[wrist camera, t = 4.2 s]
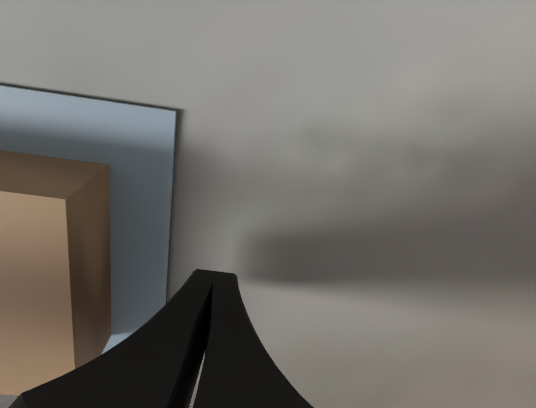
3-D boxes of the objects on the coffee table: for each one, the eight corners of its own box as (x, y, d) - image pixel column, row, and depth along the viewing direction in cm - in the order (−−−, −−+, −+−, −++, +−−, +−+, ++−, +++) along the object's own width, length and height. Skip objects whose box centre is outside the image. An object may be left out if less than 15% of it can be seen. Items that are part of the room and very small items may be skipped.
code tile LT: (161, 375, 16) (160, 378, 16) (-117, 347, 15) (-121, 350, 15) (176, 110, 12) (175, 111, 12) (-204, 54, 11) (-211, 54, 11)
